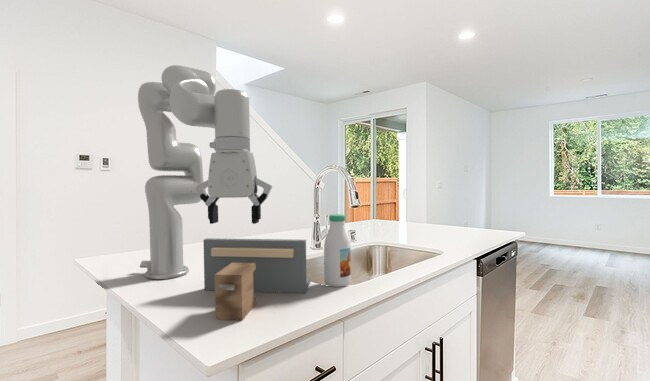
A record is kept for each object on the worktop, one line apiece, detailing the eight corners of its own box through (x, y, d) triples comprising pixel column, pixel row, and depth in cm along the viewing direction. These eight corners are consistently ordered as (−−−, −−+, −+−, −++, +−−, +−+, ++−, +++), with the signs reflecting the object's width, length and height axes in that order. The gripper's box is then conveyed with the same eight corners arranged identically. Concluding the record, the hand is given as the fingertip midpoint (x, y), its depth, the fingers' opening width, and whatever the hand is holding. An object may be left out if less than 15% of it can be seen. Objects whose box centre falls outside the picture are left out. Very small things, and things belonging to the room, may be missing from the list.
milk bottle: (330, 289, 93) (330, 217, 92) (320, 281, 100) (319, 214, 99) (355, 285, 96) (355, 215, 95) (343, 278, 103) (343, 212, 102)
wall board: (201, 292, 90) (200, 241, 90) (219, 279, 102) (218, 233, 102) (304, 295, 88) (303, 242, 87) (310, 281, 100) (310, 234, 99)
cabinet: (213, 321, 72) (212, 275, 72) (232, 302, 83) (231, 262, 83) (240, 322, 72) (239, 276, 71) (256, 303, 83) (255, 263, 82)
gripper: (187, 146, 72) (189, 225, 73) (266, 144, 71) (267, 225, 71) (203, 149, 80) (205, 221, 81) (274, 147, 78) (276, 220, 79)
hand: (234, 222), depth 76 cm, fingers open, 9 cm apart
